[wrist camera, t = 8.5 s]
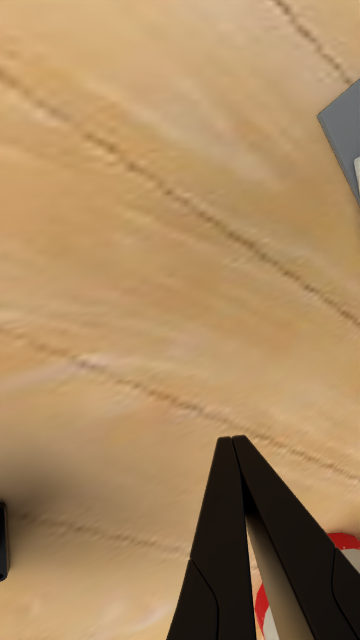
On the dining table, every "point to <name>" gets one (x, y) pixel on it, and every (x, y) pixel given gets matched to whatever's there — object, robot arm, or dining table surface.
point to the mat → (345, 131)
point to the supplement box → (357, 170)
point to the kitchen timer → (348, 544)
